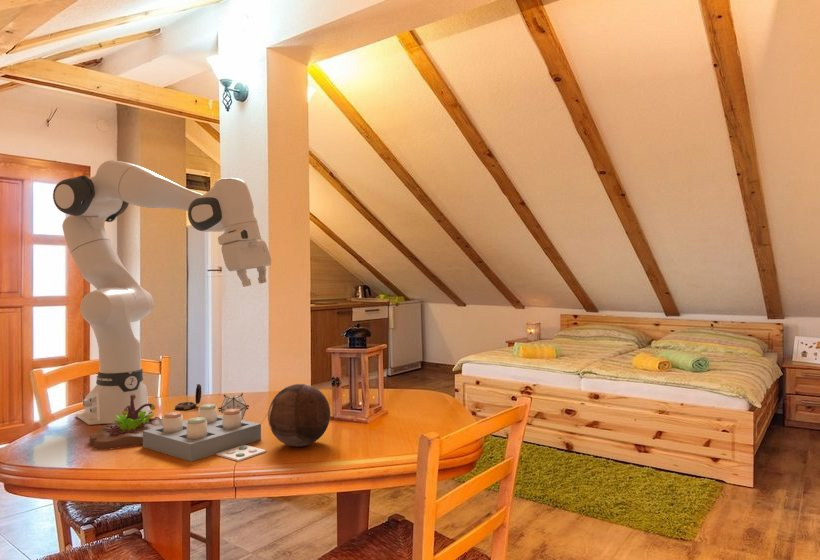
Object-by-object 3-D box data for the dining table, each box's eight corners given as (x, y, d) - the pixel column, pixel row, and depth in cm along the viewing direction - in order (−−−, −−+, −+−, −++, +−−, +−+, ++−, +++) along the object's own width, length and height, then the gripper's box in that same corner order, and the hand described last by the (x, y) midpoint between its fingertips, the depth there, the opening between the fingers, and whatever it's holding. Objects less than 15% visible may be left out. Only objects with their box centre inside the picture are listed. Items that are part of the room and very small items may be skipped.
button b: (195, 427, 146) (194, 406, 146) (210, 423, 150) (209, 402, 150) (205, 430, 144) (205, 408, 143) (220, 426, 147) (220, 405, 147)
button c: (182, 443, 132) (182, 420, 132) (199, 438, 136) (199, 416, 136) (194, 447, 130) (193, 423, 130) (211, 441, 133) (211, 418, 133)
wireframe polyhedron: (237, 436, 158) (237, 413, 152) (211, 424, 160) (210, 401, 154) (255, 414, 165) (255, 391, 159) (230, 403, 167) (230, 380, 161)
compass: (173, 407, 179) (173, 384, 179) (200, 404, 182) (199, 382, 182) (176, 412, 172) (175, 389, 172) (203, 409, 175) (203, 386, 175)
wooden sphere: (334, 435, 145) (333, 378, 144) (325, 454, 130) (324, 390, 129) (276, 436, 145) (275, 379, 144) (261, 455, 130) (260, 391, 129)
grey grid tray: (142, 447, 137) (142, 430, 137) (212, 427, 154) (212, 413, 154) (191, 461, 126) (190, 444, 126) (261, 439, 142) (260, 423, 142)
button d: (218, 433, 140) (218, 411, 140) (233, 429, 144) (233, 407, 144) (230, 436, 138) (229, 413, 138) (245, 431, 142) (245, 409, 142)
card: (216, 455, 130) (216, 452, 130) (244, 446, 137) (244, 444, 137) (238, 461, 126) (238, 459, 126) (266, 451, 132) (266, 449, 132)
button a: (159, 437, 138) (158, 414, 138) (176, 432, 142) (175, 410, 142) (169, 440, 135) (169, 417, 135) (186, 435, 139) (186, 413, 139)
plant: (176, 424, 160) (175, 385, 159) (172, 443, 141) (172, 399, 141) (97, 432, 153) (96, 391, 153) (83, 453, 134) (82, 407, 134)
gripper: (250, 237, 164) (261, 283, 164) (213, 238, 144) (226, 290, 144) (270, 232, 163) (281, 279, 163) (235, 233, 143) (248, 285, 143)
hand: (255, 284), depth 154 cm, fingers open, 8 cm apart
